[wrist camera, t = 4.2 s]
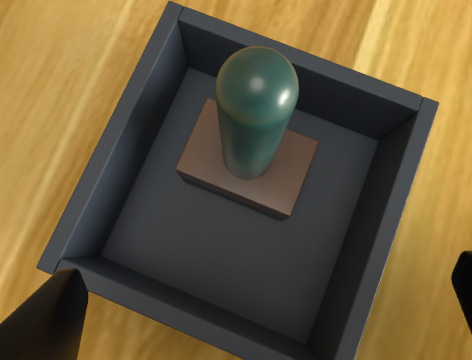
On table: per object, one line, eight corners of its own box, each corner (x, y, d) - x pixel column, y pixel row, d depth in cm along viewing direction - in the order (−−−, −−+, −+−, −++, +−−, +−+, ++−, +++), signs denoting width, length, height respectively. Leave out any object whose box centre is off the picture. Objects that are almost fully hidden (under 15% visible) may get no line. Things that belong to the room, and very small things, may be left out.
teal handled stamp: (306, 157, 22) (394, 46, 10) (281, 221, 21) (343, 185, 9) (211, 119, 22) (183, -33, 10) (183, 181, 21) (120, 96, 9)
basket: (392, 136, 22) (440, 102, 17) (313, 362, 20) (341, 402, 15) (183, 55, 23) (168, -1, 18) (84, 263, 21) (34, 268, 16)
